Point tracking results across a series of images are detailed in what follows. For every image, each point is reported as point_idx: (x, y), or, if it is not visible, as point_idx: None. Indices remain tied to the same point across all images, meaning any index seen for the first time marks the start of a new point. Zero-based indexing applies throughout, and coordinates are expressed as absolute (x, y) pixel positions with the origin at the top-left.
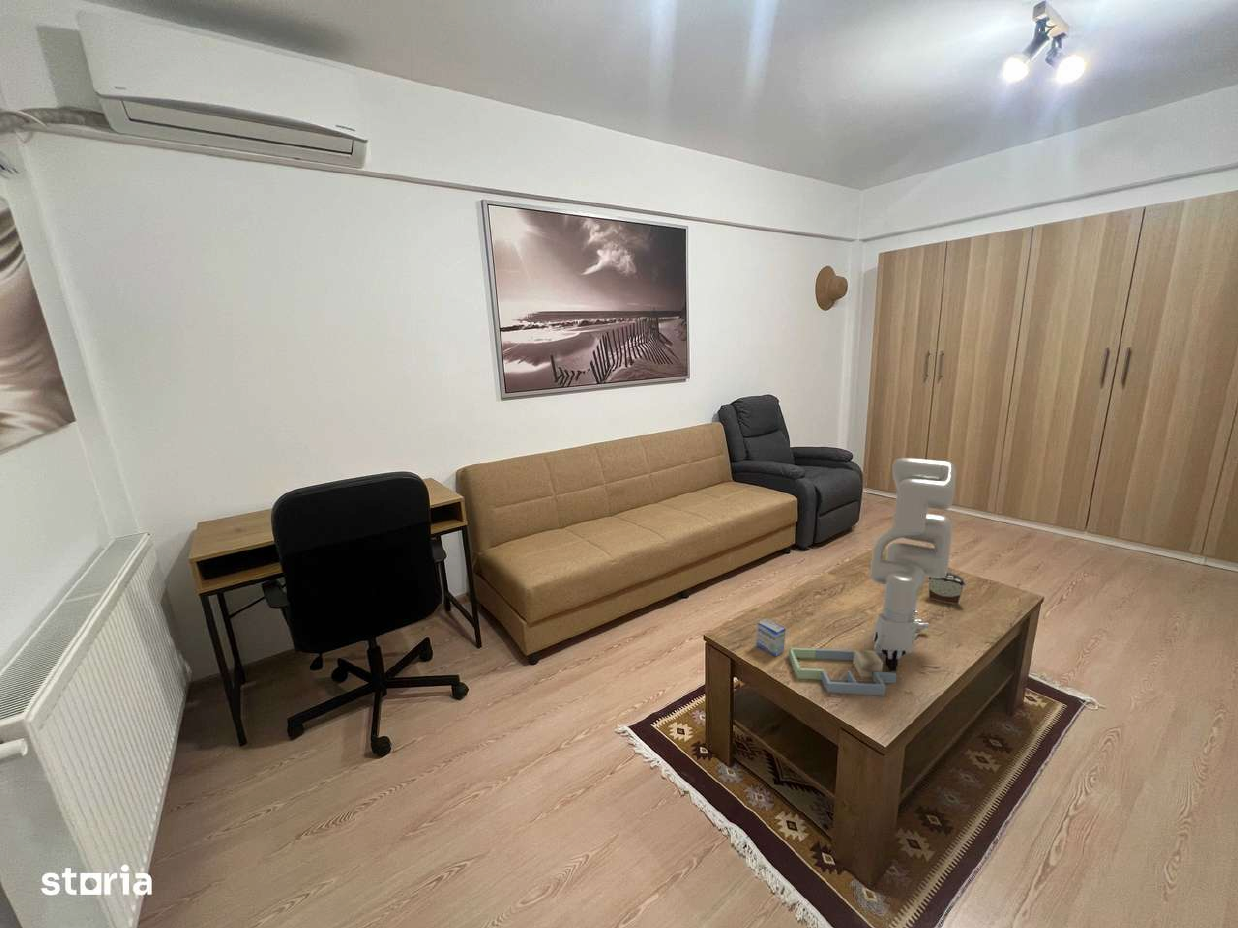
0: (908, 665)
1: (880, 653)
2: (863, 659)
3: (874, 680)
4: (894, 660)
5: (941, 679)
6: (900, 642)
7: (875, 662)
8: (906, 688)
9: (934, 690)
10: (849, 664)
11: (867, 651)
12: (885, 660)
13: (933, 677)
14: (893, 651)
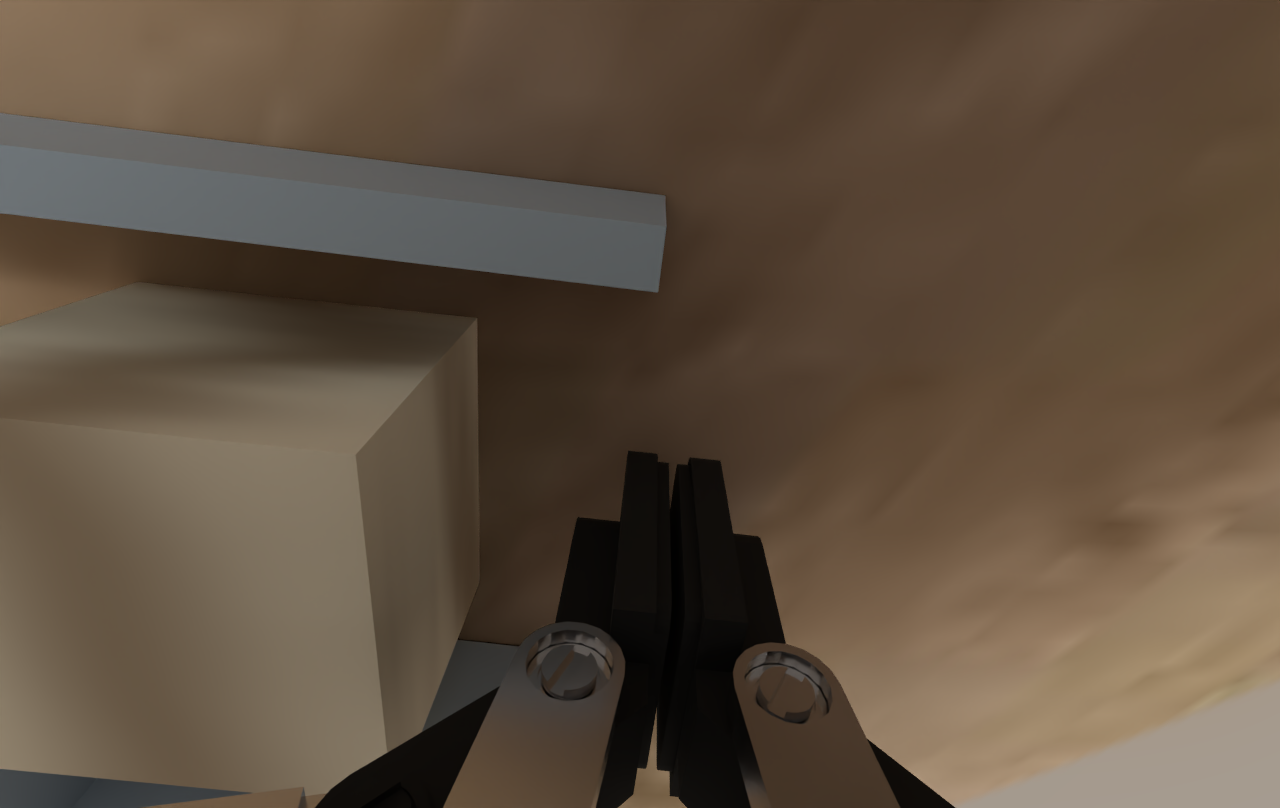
0: (1058, 369)
1: (614, 280)
2: (17, 712)
3: None
4: (659, 762)
5: (1239, 654)
6: None
7: (245, 790)
8: None
9: (967, 782)
10: (73, 299)
11: (148, 471)
12: (566, 570)
13: (1174, 619)
14: (740, 747)
